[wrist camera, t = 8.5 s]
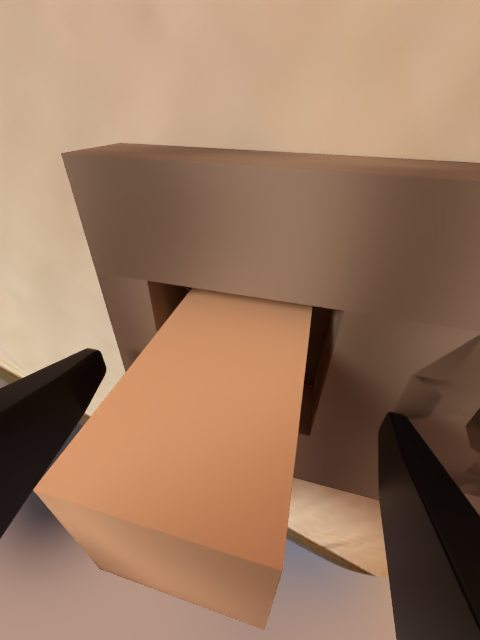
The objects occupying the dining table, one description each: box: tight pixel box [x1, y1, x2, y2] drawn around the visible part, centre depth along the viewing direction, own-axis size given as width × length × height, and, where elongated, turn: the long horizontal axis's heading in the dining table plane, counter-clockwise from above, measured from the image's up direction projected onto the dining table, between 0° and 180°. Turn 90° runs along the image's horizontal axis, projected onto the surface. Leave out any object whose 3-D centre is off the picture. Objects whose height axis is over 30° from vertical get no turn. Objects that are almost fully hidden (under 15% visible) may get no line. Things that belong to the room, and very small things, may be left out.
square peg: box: [33, 288, 312, 629], centre depth 9 cm, size 4×4×8 cm
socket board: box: [61, 143, 480, 515], centre depth 10 cm, size 18×12×2 cm, turn 88°
